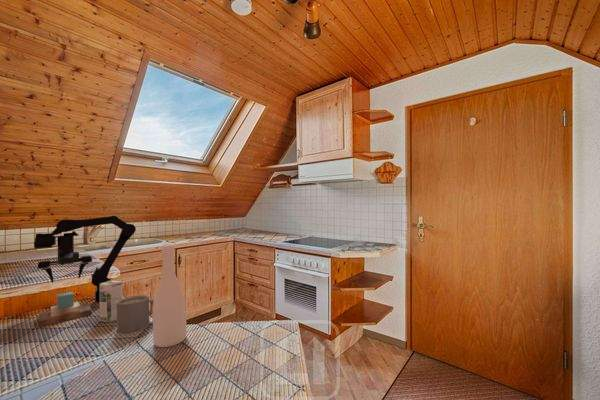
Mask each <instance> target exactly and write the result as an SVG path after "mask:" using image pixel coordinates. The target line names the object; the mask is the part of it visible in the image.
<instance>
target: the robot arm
mask: <svg viewBox="0 0 600 400" xmlns="http://www.w3.org/2000/svg"><path fill="white" fill-rule="evenodd" d="M108 224H109V225H110V224H112V225H114V226H115V227H117V228H119V229H120V230H121V231H120V233H119V236H118V239H117V240H116V242H115V243H114V245H113V247H112V248H111V251H110V252H109V254H108V256H107V257H106V259H105V260H104V262H103V263H102V265H101V266H100V267H98V266H96V267H95V270H94V272H93V273H91V276H90V277H91V281H90V282H91V284H92V285H93V286H95V291H94V301H95V302H96V303H100V284H101V283H104V282H107V281H112V280H111V278H109V277H108V276H109V273H110V270H111V268H112V266H113V264H114V263H115V260H116V259H117V257H118V256H119V254H120V253H121V251H122V250H123V248H124V246H125V244H126V243H127V242H128V240H130V239H131V238H132V236H133V235H134V234H135V233H136V231H137V229H136V226H135V225H134V224H133V223H128V222H125V221H123V220H122V219H120V218H119V217H118V216H116V215H110V216H104V217H103V216H102V217H94V218H88V219H87V218H86V219H62V220H59V221H57V223H56V228H55V229H54V230H52V232H51V233H50V232H49V233H40V232H39V233H35V238H34V241H33V244H34V245H33V246H34V247H33V248H34V249H35V250H39V249H40V250H41V249H52V248H53V247H54V246H56V245H57V260H52V261H51V260H50V259H46V260H39V261H38V262H37V269H39V270H40V269H41V270H42V271H45V272H46V273H47V274H48V277H49V279H50V282H51V283H52V284H53V283H54V276H53V271H52V266H57V265H60V266H63V265H71V264H74V263H79V264H78V265H79V266H78V276H77V277H78V279H80V278H81V276H82V273H83V270H84V269H85V267H86V265H89V263H91V262H93V257H92V256H91V255H90V254H89V255H80V252H79V251H75V248H74V247H75V243H74V241H75V240H74V238H75V237H78V236H79V235H80V234H79V233H77V232H76V231H75V230H79V229H81V228H88V227H94V226H102V225H108ZM70 231H72V232H70ZM62 233H63V235H60V234H62Z"/></svg>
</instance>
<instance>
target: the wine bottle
mask: <svg viewBox="0 0 600 400" xmlns="http://www.w3.org/2000/svg"><path fill="white" fill-rule="evenodd" d="M161 247H162V248H161V254H162V272H161V277H160V280H159V284H158V286H157V290H156V293H155V295H154V298H153V299H154V302H153V307H152V309H153V313H152V338H153V340H152V341H153V345H154V346H156V347H158V348H169V347H173V346H176V345H179V344H181V343H182V342H184V340H185V339H186V337H187V333H188V331H187V300H186V297H185V295H184V293H183V289H182V286H181V284H180V283H179V280H178V278H177V275H176V271H175V258H174V257H175V256H174V253H175V247H174V245H172V244H171V245H170V244H169V245H163V246H161Z"/></svg>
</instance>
